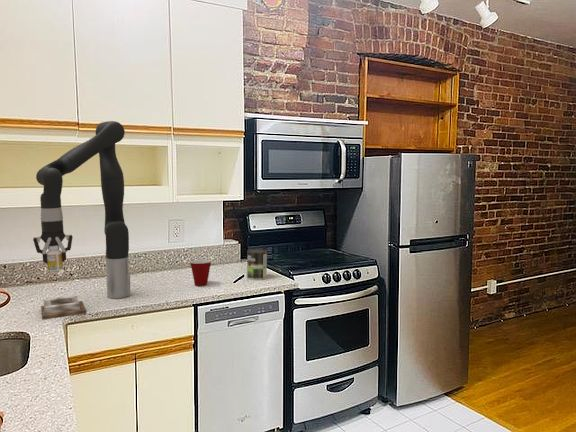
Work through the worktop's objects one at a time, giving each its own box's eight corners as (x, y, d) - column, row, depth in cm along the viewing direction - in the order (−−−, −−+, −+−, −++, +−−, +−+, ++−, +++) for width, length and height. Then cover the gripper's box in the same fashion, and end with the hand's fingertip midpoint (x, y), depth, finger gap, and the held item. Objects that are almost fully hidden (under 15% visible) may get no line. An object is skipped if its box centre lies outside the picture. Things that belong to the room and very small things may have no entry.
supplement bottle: (59, 267, 182) (57, 243, 181) (65, 269, 178) (63, 245, 177) (45, 270, 178) (43, 245, 176) (51, 272, 174) (49, 247, 173)
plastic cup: (210, 281, 226) (210, 257, 224) (213, 286, 215) (213, 261, 214) (188, 282, 222) (188, 258, 221) (190, 288, 212) (190, 263, 211)
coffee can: (255, 281, 226) (255, 253, 225) (242, 277, 234) (242, 250, 233) (271, 277, 233) (271, 251, 232) (258, 274, 241) (258, 248, 239)
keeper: (82, 303, 188) (82, 294, 187) (86, 313, 175) (85, 304, 175) (41, 309, 180) (40, 299, 180) (42, 319, 168) (41, 309, 168)
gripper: (71, 217, 182) (74, 258, 184) (30, 219, 176) (33, 262, 178) (73, 219, 176) (75, 262, 178) (30, 221, 169) (33, 266, 171)
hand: (54, 262), depth 178 cm, fingers closed on supplement bottle, 5 cm apart
